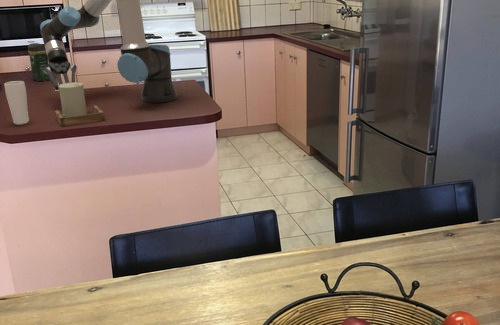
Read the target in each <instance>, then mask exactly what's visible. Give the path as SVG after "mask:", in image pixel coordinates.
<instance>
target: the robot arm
mask: <svg viewBox="0 0 500 325" xmlns="http://www.w3.org/2000/svg"><path fill="white" fill-rule="evenodd" d="M112 1H113V0H86V1H85V2H84V4H83V5H82V6H81V8H79V9H76V8H75V7H73V6H70V5H68V6H65V7H63V8H62V9H61V10H59V12H58V13H57V15H56V16H54V18H53V19H46V20H44V21H42V22H41V23H40V25H39V28H40V35H41V38H42V42H43V44H44V46H45V49H46V53H47V58H48V63H49V67H48V68H44V73H45V74H46V75H47V76H48V77H49V79H50V80H49V81H50V83H51V84H52V86H53V87H54V90H56V91H59V87H58V86H59V85H61V84H64V83H63V80H64V82H65V83H75V82H76V80H75V79H76V77H75V76H76V72H77V69H78V68H77V65H76V64H74V65H72V64H71V62H69V58H68V55H67V51H66V48H65V44H64V40H63V38H65V36H66V35H68V33H69V32H71V31H73V30H78V29H84V28H85V29H86V28H92V27H94V26H97V25H98V24H99V22H100V15H101V14H102V13H103V12H104V11H105V10H106V8H108V7H109V4H111V2H112ZM115 1H116V5H117V6H116V7H117V14H118V19H119V24H120V30H121V36H122V42H123V43H122V46H121V47H119V48H120V56H119V59H117V71H118V72H119V74H120V76H121V77H122V78H123V79H125V81H128V82H129V83H134V84H135V83H140V82H141V83H142V82H143V85H142V90H141V93H140V99H141V101H142V102H143V103H149V104H150V103H151V104H152V103H154V104H155V103H156V104H158V103H159V104H160V103H167V102H169V103H170V102H172V101H175V100H177V98H178V94H177V90H176V87H175V85H174V83H173V79H172V66H171V65H172V64H171V52H170V51H171V50H170V46H168V45H167V44H150V43H149V42H148V41H146V34H145V27H144V21H143V15H142V8H141V2H140V0H115ZM69 70H70V71H71V82H70V79H69V75H68V71H69ZM52 72H53V73H54V74H55V75H56V78H55V77H54V74H53V73H52ZM62 76H63V78H62ZM56 79H57V80H56Z"/></svg>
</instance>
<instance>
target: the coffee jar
mask: <svg viewBox="0 0 500 325" xmlns="http://www.w3.org/2000/svg"><path fill="white" fill-rule="evenodd" d="M27 52H28V56H29V62H30V69H31V76H32V80H34V81H37V82H46V81H50V79H49V77H48V76H47V75H46V74H45V73H44V68H48V67H49V62H48V58H47V53H46V49H45V46H44V43H38V42H33V43H29V44H28V45H27Z"/></svg>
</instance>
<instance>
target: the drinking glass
mask: <svg viewBox="0 0 500 325" xmlns="http://www.w3.org/2000/svg"><path fill="white" fill-rule="evenodd" d="M3 86H4V91H5V97H6V99H7V102H8V107H9V110H10V113H11V114H10V115H11V117H12V122H13V124H14V125H19V126H20V125H21V126H22V125H25V124H28V123H29V122H30V118H29V110H28V97H27V90H26V89H27V88H26V83H25V81H24V80H15V81H14V80H13V81H11V80H10V81H7V82H5V83H4V84H3Z"/></svg>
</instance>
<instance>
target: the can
mask: <svg viewBox="0 0 500 325" xmlns="http://www.w3.org/2000/svg"><path fill="white" fill-rule="evenodd" d="M58 85H59V84H58ZM58 87H59V90H58V92H59V98H60V104H61V110H62V111H61V112H62V114H61V115H62V116H63V117H70V116H77V115H84V114H88V111H87V105H86V104H87V103H86V96H85V91H84V90H85V88H84V83H83V82H76V81H75V83H71V82H70V83H63V84H61V85H59V86H58Z"/></svg>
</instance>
